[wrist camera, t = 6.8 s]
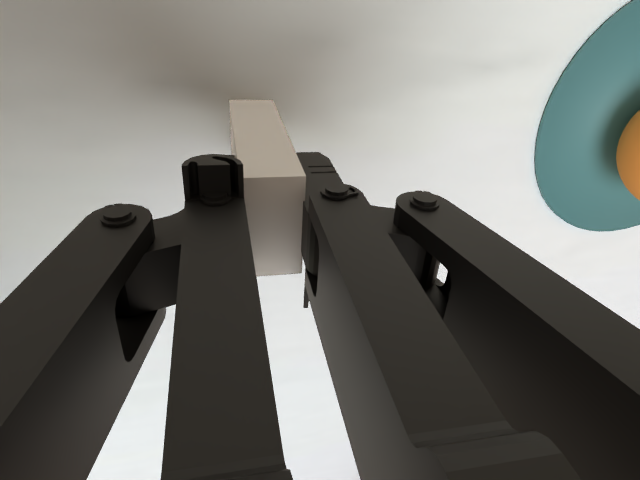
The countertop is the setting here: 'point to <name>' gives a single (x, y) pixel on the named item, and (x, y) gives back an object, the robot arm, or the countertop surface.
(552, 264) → the countertop surface
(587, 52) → the disc
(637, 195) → the ball
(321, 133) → the countertop surface
